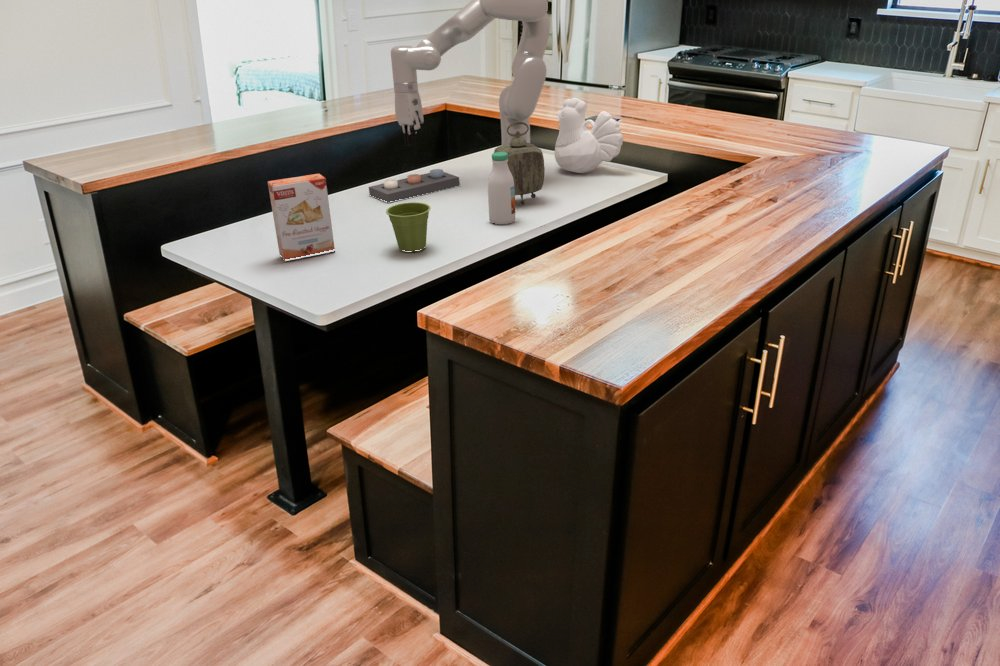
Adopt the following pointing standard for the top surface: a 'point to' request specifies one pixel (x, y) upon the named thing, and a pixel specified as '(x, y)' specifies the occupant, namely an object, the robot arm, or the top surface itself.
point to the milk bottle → (501, 191)
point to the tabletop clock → (524, 164)
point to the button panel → (414, 187)
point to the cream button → (390, 184)
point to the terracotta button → (414, 179)
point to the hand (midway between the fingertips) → (411, 145)
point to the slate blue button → (436, 173)
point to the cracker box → (301, 215)
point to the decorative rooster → (585, 138)
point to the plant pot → (409, 224)
